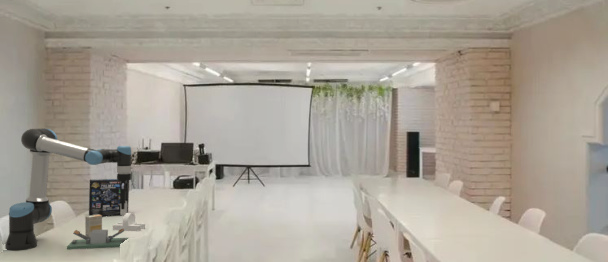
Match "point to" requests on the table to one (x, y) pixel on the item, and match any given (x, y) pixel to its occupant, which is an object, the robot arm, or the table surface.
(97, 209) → the box
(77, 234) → the block
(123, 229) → the strap
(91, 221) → the supplement box
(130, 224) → the white slotted holder
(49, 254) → the table surface
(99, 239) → the board
